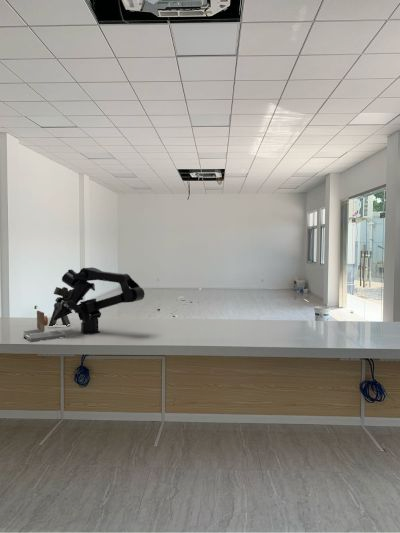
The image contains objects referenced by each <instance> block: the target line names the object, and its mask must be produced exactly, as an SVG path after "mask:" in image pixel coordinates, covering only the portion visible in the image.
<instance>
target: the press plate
mask: <svg viewBox="0 0 400 533" xmlns="http://www.w3.org/2000/svg"><path fill="white" fill-rule="evenodd" d="M46 326H47V327H48V326H49V318H48V316H47V315H45V312H43V311H40V310H36V329H39V330H41V331H44V332H46V331H45V329H46V328H45V327H46Z"/></svg>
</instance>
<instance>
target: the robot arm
mask: <svg viewBox="0 0 400 533" xmlns="http://www.w3.org/2000/svg"><path fill="white" fill-rule="evenodd" d="M61 281H62V282H63V283H64V284H66V285H67V286H68V287H70V288H72V289H68V287H67V286H66V287H65V286H63V287H57V286H56V287H55V289H54V291H53V295H56V296H57V297H56V298H55V300H54V302H55V303H58V310H57V312H56V314H55V316H54V318H53V320H57V321H58V320H60V319H61V318H62V317H64V316H66V315H67V316H68V315H70V314H73V311H74V313H75V314H77V315H78V318H79V320H80V321H81V323H80V327H81V328H80V333H82V334H84V335H92V334H98V333H100V332H101V331H100V330H99V319H100V318H101V316H102V312H101V311H100V310H102V309H105V308H110V307H112V306H115V305H119V304H122V303H123V304H124V303H134V302H138V301H142V300H143V299H144V298H145V290H144V288H142V287H141V286H140V285H139V284H138V282H137V281H135V280H134V279H132V277H131V276H130V274H128V273H119V272H111V271H103V270H100V268H99V269H98V268H97V267H82V268H81V269H80V271H79V272H75V270H74V269H71V268H70V269H68V270H67V271H66V272H65V273H64V274H63V275H62V276H61ZM90 281H91V282H90ZM92 281H103V282H110V283H118V284H119V285H120V289H121V291H122V292H121V293H120V294H117V295H114V296H110V297H107V298H103V299H100V300H97V298H96V297H95V298H91V299H90V298H89V299H86V300H84V297H85V295H87V293H88V292H89V291H90V290H92V291H93V292H95V291H96V288H95V287H96V286H95V283H94V282H92ZM58 296H59V297H58Z"/></svg>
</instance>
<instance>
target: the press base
mask: <svg viewBox="0 0 400 533" xmlns="http://www.w3.org/2000/svg"><path fill="white" fill-rule="evenodd" d="M24 337H25V338H26V339H25V338H24ZM60 337H64V338H66V333H63V332H61V331H59V330H52V331H51V330H50V331H41V330H39V329H38V328H36V329H35V328H33V329H27V330H23V338H24V339H25V340H26V341H28V342H29V341H30V342H29V343H34V341H35V342H41V341H40V340H43V341H48V340H47V339H50V340H57V339H61V338H60ZM56 338H57V339H56Z"/></svg>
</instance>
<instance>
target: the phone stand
mask: <svg viewBox="0 0 400 533" xmlns="http://www.w3.org/2000/svg"><path fill="white" fill-rule="evenodd" d="M53 308H54V309H53V311H52V315H51V318H50V320H49V322H48V326H53V325H55V324H56V325H57V322H58V320H53V318H54V316H55V314H56V312H57V310H58V303H57V302H55V303H54V305H53ZM60 319H61V323H62V324H61V325H66V326H67V325H68V324H71V322H70V320H69V316H68V315H66V316H64V317H62V318H60Z"/></svg>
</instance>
